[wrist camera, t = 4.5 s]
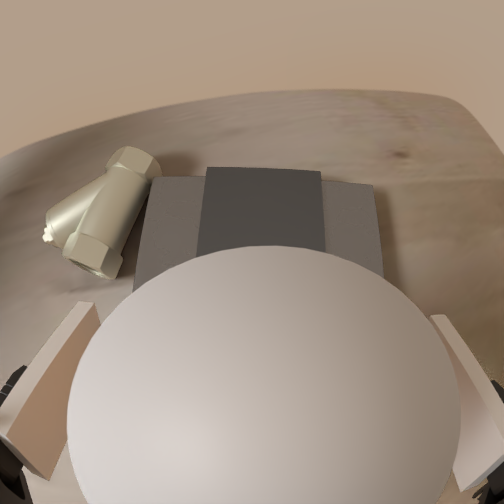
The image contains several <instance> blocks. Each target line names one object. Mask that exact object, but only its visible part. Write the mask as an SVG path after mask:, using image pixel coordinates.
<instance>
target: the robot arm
mask: <svg viewBox="0 0 504 504" xmlns="http://www.w3.org/2000/svg"><path fill="white" fill-rule="evenodd" d="M429 322H430V323H431V324H432V325H433V327H434V329H435V330H436V332H437V334H438V335H439V337H440V339H441V340H442V342H443V344H444V346H445V348H446V350H447V353H448V355H449V358H450V360H451V363H452V365H453V368H454V372H455V376H456V380H457V384H458V388H459V396H460V406H461V425H460V437H459V443H458V449H457V454H456V458H455V461H454V464H453V467H452V469H453V472H454V475H455V478H456V481H457V484H458V487H459V490H460V492H462V491H465V490H467V489H470V488H472V487H475V486H477V485H478V484H479V483H480V482H482V481H483V480H484V479H485V478H486V477H487V479H488V483H487V484H485V485H484V486H483V487H482V488H480V489H479V490H478V491H477V492H476V493H474V495H473V497H472V498H473V499H474V498H476V497H477V496H478V495H480V494H481V493H482V495H481V496H480V497H479V498H478V499H477V500H480V501H479V503H478V504H504V389H503V388H502V387H501V386H500V385H499V384H498V383H497V382H495V381H494V380H492V381H490V380H489V379H488V377H487V375H486V374H485V372H484V371H483V369H482V367H481V366H480V364H479V363H478V361H477V360H476V358H475V357H474V355H473V354H472V352H471V351H470V349H469V348H468V346H467V345H466V343H465V342H464V341H463V339H462V338H461V336H460V335H459V333H458V332H457V331H456V329H455V328H454V326H453V325H452V324H451V322H450V321H449V319H448V318H447V317H446V315H445V314H443V315H430V317H429ZM100 326H101V325H100V321H99V318H98V314H97V311H96V307H95V303H91V302H83V301H78V303H77V304H76V305H75V306H74V308H73V309H72V310H71V311H70V312H69V314H68V315H67V316H66V317H65V319H64V320H63V321H62V322H61V324H60V325H59V326H58V327H57V329H56V330H55V331H54V332H53V334H52V335H51V336H50V338H49V339H48V340H47V342H46V343H45V344H44V346H43V347H42V348H41V349H40V351H39V352H38V354H37V355H36V356H35V358H34V359H33V360H32V362H31V363H30V364H29V366H28V367H27V366H24V365H23V366H22V367H20V368H19V369H18V370H16V371H15V372H14V373H13V374H12V375H11V377H10V378H9V379H8V381H7V382H6V385H4V387H3V388H2V389H1V391H0V392H1V393H0V504H33V502H32V499H31V495H30V492H29V489H28V485H27V482H26V478H25V475H24V473H23V471H22V470H21V469H22V467H23V465H24V466H25V467H26V468H27V469H28V470H29V471H30V472H32V473H33V474H35V475H37V476H39V477H42V478H44V479H46V480H48V481H49V480H50V478H51V475H52V473H53V471H54V468H55V466H56V464H57V461H58V459H59V457H60V455H61V452H62V450H63V448H64V446H65V444H66V441H67V439H68V437H67V410H68V401H69V396H70V391H71V386H72V382H73V379H74V376H75V373H76V370H77V367H78V365H79V362H80V359H81V357H82V355H83V353H84V352H85V350H86V348H87V346H88V344H89V342H90V340H91V338H92V337H93V336H94V334H95V333H96V331H97V330H98V329H99V327H100Z"/></svg>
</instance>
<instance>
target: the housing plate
mask: <svg viewBox="0 0 504 504" xmlns="http://www.w3.org/2000/svg"><path fill="white" fill-rule="evenodd" d="M205 179H206V176H170V177H153V181H152V186H151V190H150V195H149V199H148V204H147V209H146V214H145V219H144V224H143V229H142V235H141V240H140V246H139V252H138V258H137V264H136V271H135V278H134V285H133V292H134V291H136V290H137V289H138V288H139V287H141V286H142V285H143V284H145V283H146V282H148V281H149V280H151V279H153V278H154V277H156V276H158V275H160V274H161V273H163V272H165V271H166V270H168V269H170V268H172V267H175V266H177V265H180V264H182V263H184V262H187V261H189V260H191V259H194V258H196V252H197V243H198V234H199V225H200V217H201V209H202V201H203V193H204V186H205ZM321 184H322V197H323V211H324V227H325V246H326V253H328V254H332V255H334V256H337V257H340V258H343V259H345V260H348V261H351V262H354V263H356V264H358V265H360V266H362V267H364V268H366V269H368V270H370V271H372V272H374V273H375V274H377V275H379V276H381V277H382V278H384V271H383V260H382V250H381V242H380V233H379V225H378V218H377V211H376V204H375V198H374V192H373V186H372V185H366V184H356V183H344V182H332V181H321ZM133 292H132V293H133Z"/></svg>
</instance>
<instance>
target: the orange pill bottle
mask: <svg viewBox="0 0 504 504" xmlns="http://www.w3.org/2000/svg"><path fill="white" fill-rule="evenodd" d="M460 425H461V406H460V396H459V388H458V384H457V380H456V376H455V372H454V368H453V365H452V363H451V360H450V358H449V355H448V353H447V350H446V348H445V346H444V344H443V342H442V340H441V339H440V337H439V335H438V334H437V332H436V330H435V329H434V327H433V325H432V324H431V323H430V322H429V320H428V319H427V318H426V317H425V315H424V314H423V313H422V312H421V310H420V309H419V308H418V307H417V306H416V305H415V304H414V303H413V302H412V301H411V300H410V299H409V298H408V297H407V296H406V295H405V294H403V293H402V292H401V291H400V290H399V289H398V288H396V287H395V286H393V285H392V284H391V283H389V282H388V281H386V280H385V279H384V278H382V277H381V276H379V275H377V274H375V273H374V272H372V271H370V270H368V269H366V268H364V267H362V266H360V265H358V264H356V263H354V262H351V261H348V260H345V259H343V258H340V257H337V256H334V255H332V254H328V253H323V252H319V251H314V250H310V249H306V248H297V247H286V246H248V247H242V248H235V249H228V250H222V251H218V252H215V253H211V254H207V255H204V256H200V257H197V258H194V259H191V260H189V261H187V262H184V263H182V264H180V265H177V266H175V267H172V268H170V269H168V270H166V271H165V272H163V273H161V274H160V275H158V276H156V277H154V278H153V279H151V280H149V281H148V282H146V283H145V284H143V285H142V286H141V287H139V288H138V289H137V290H136V291H134V292H133V293H132V294H130V295H129V296H128V297H127V298H125V299H124V300H123V301H122V302H121V303H120V304H119V305H118V306H117V307H116V308H115V309H114V311H113V312H112V313H111V314H110V315H109V316H108V317H107V318H106V319H105V321H104V322H103V323H102V325H101V326H100V327H99V329H98V330H97V331H96V333H95V334H94V336H93V337H92V338H91V340H90V342H89V344H88V346H87V348H86V350H85V352H84V353H83V355H82V357H81V359H80V362H79V365H78V367H77V370H76V373H75V376H74V379H73V382H72V386H71V391H70V396H69V401H68V410H67V437H68V446H69V453H70V457H71V461H72V465H73V469H74V473H75V476H76V478H77V481H78V483H79V486H80V488H81V490H82V493H83V495H84V497H85V499H86V500H87V502H88V504H436V502H437V501H438V499H439V497H440V495H441V493H442V491H443V489H444V487H445V485H446V483H447V481H448V479H449V476H450V473H451V470H452V467H453V464H454V461H455V458H456V454H457V449H458V443H459V437H460Z"/></svg>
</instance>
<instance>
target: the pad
mask: <svg viewBox="0 0 504 504" xmlns="http://www.w3.org/2000/svg"><path fill="white" fill-rule="evenodd" d="M248 246H286V247H297V248H306V249H310V250H314V251H319V252H323V253H326V246H325V227H324V211H323V197H322V184H321V173H320V171H308V170H292V169H271V168H241V167H207V172H206V179H205V186H204V193H203V201H202V209H201V217H200V225H199V234H198V243H197V252H196V258H197V257H200V256H204V255H207V254H211V253H215V252H218V251H222V250H228V249H235V248H242V247H248Z"/></svg>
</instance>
